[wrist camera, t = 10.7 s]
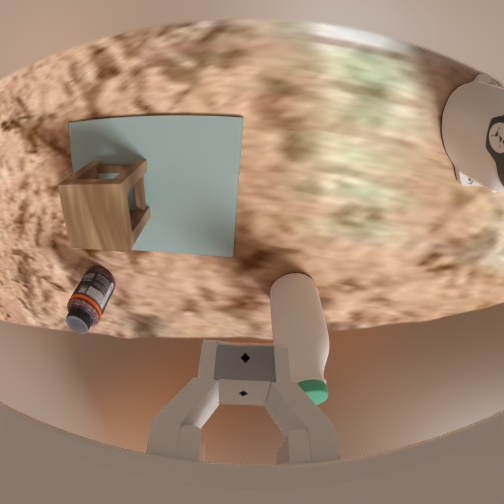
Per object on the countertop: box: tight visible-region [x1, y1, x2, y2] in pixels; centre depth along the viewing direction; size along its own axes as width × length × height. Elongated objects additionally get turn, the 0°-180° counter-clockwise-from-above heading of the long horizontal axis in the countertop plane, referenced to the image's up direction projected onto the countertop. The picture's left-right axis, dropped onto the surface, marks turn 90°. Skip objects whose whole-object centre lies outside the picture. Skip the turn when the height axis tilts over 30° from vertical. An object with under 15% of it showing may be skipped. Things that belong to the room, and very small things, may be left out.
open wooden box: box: [58, 160, 150, 252], centre depth 33 cm, size 9×8×8 cm
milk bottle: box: [270, 273, 329, 405], centre depth 39 cm, size 8×8×20 cm
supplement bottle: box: [66, 267, 115, 334], centre depth 41 cm, size 6×6×11 cm
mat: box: [68, 115, 243, 257], centre depth 37 cm, size 24×20×1 cm
